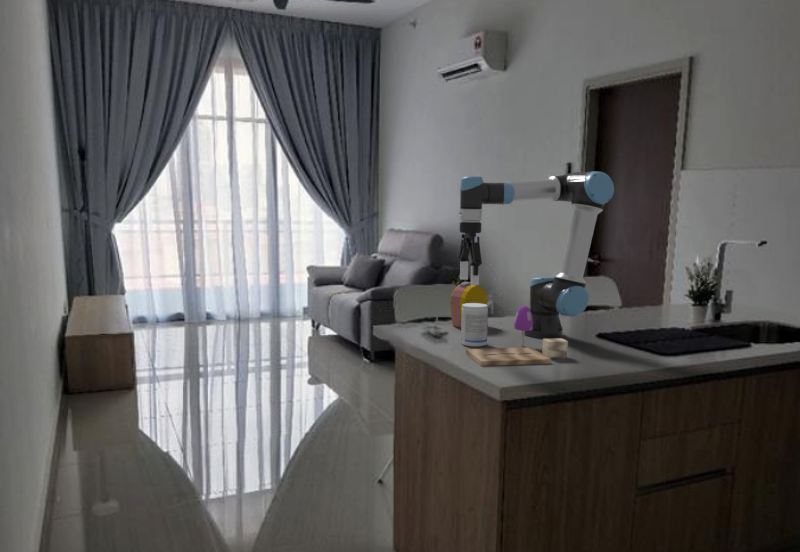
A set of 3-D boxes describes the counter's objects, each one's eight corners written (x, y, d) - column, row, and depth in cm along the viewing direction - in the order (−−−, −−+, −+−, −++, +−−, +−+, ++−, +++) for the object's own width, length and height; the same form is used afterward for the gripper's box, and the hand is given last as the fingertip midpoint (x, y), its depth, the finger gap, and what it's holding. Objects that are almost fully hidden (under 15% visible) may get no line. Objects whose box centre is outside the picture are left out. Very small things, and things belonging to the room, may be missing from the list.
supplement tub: (492, 345, 230) (493, 305, 228) (472, 348, 225) (473, 307, 223) (475, 340, 238) (476, 301, 236) (455, 343, 233) (456, 303, 231)
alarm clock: (471, 321, 273) (473, 279, 271) (486, 325, 267) (488, 282, 265) (448, 326, 263) (449, 282, 261) (463, 329, 257) (464, 284, 255)
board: (531, 351, 222) (531, 347, 222) (550, 363, 207) (551, 358, 207) (466, 353, 218) (466, 348, 217) (480, 365, 202) (481, 360, 202)
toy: (533, 345, 232) (535, 305, 230) (530, 349, 226) (532, 307, 224) (514, 343, 234) (516, 303, 232) (511, 347, 228) (513, 306, 226)
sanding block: (560, 355, 218) (561, 338, 218) (566, 358, 214) (567, 341, 213) (542, 355, 217) (542, 338, 216) (547, 359, 213) (548, 341, 212)
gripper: (451, 219, 230) (449, 277, 233) (470, 223, 206) (468, 287, 209) (471, 219, 232) (469, 277, 234) (492, 223, 207) (490, 287, 210)
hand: (469, 282), depth 222 cm, fingers open, 13 cm apart
